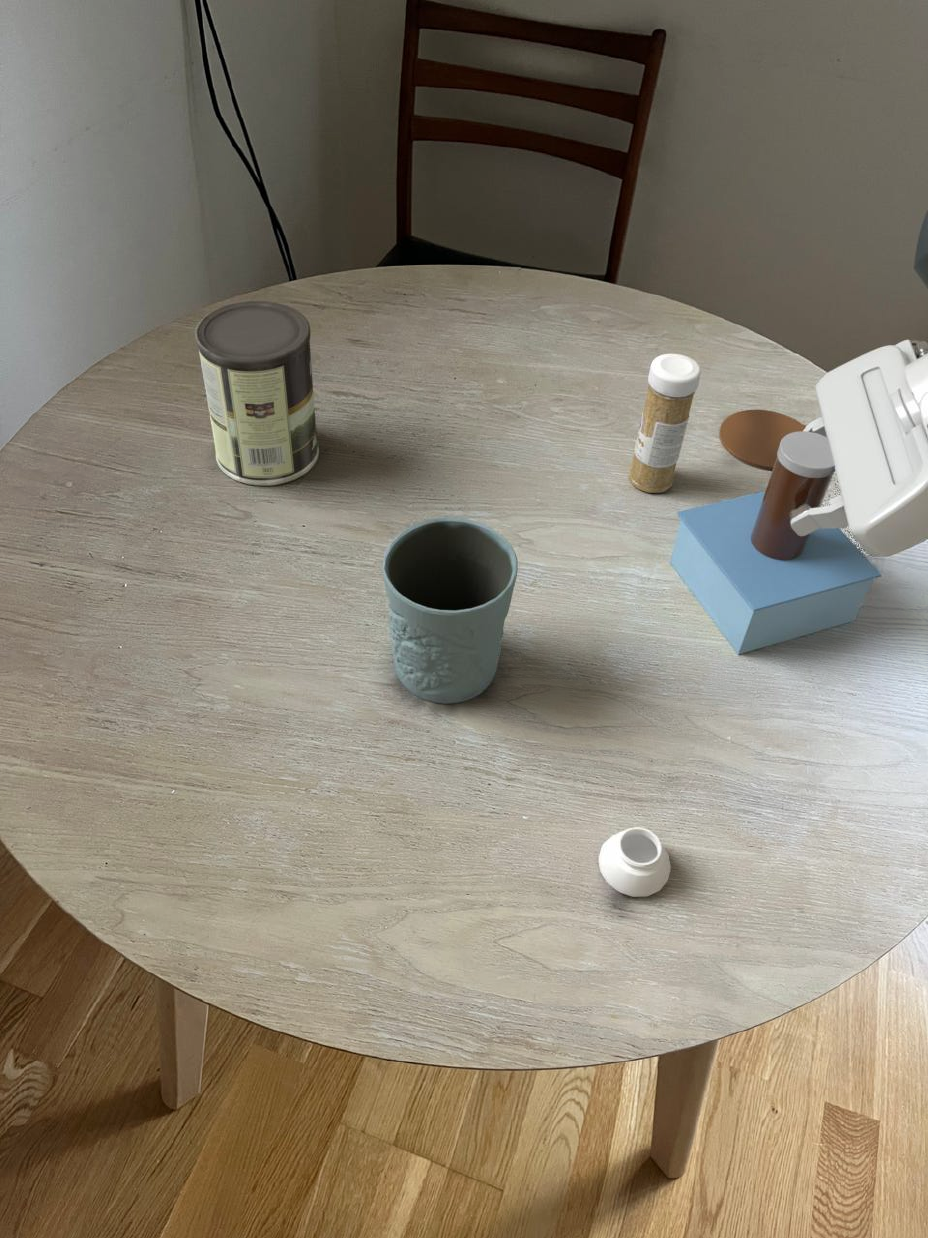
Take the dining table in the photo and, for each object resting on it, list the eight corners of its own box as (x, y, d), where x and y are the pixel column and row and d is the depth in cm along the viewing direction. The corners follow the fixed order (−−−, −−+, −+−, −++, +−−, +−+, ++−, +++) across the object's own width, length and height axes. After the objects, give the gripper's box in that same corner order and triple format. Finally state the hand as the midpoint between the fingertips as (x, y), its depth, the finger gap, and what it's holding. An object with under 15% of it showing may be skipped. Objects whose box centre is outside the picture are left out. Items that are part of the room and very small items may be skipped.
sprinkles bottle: (626, 465, 105) (649, 349, 96) (671, 467, 106) (698, 352, 96) (629, 494, 102) (653, 378, 93) (675, 497, 102) (704, 381, 93)
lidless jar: (593, 837, 76) (603, 900, 72) (599, 815, 73) (609, 879, 70) (661, 836, 76) (674, 898, 73) (669, 814, 74) (682, 877, 70)
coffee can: (288, 411, 109) (276, 288, 99) (337, 464, 103) (331, 340, 93) (197, 443, 105) (175, 318, 94) (243, 500, 99) (225, 373, 89)
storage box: (779, 531, 100) (797, 482, 95) (859, 622, 92) (882, 574, 87) (664, 560, 96) (677, 511, 92) (736, 658, 88) (754, 609, 84)
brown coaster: (780, 405, 114) (781, 402, 114) (834, 459, 108) (835, 456, 107) (701, 422, 111) (702, 419, 111) (751, 479, 105) (752, 475, 105)
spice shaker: (785, 518, 92) (818, 426, 84) (816, 554, 89) (854, 461, 81) (738, 530, 90) (768, 437, 83) (769, 566, 87) (802, 473, 80)
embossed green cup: (490, 614, 90) (500, 510, 82) (519, 705, 84) (533, 601, 75) (375, 629, 89) (372, 524, 80) (395, 723, 82) (394, 619, 73)
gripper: (906, 304, 84) (754, 395, 91) (967, 462, 70) (782, 555, 77) (941, 357, 87) (791, 441, 94) (1006, 519, 73) (824, 602, 80)
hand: (787, 493), depth 86 cm, fingers open, 6 cm apart
